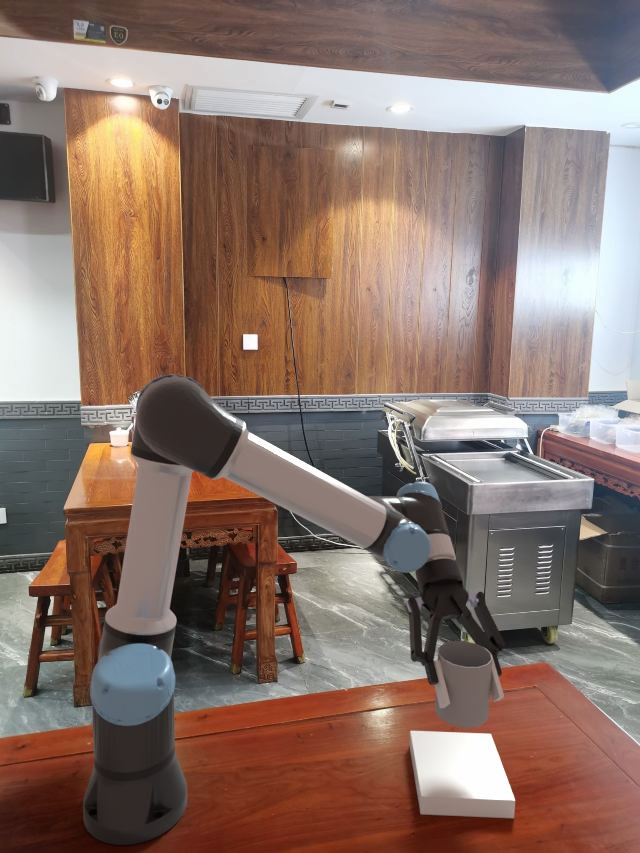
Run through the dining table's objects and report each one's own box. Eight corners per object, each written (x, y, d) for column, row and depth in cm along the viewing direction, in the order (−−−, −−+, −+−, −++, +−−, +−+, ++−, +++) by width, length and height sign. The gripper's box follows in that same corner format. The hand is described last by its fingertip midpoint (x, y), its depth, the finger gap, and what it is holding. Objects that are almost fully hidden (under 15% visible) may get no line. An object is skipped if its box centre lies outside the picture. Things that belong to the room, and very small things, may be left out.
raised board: (420, 814, 98) (421, 796, 97) (409, 746, 113) (410, 730, 113) (513, 818, 97) (515, 800, 97) (489, 749, 113) (490, 733, 112)
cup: (424, 709, 104) (427, 651, 102) (455, 691, 109) (458, 635, 108) (467, 735, 98) (471, 673, 96) (498, 714, 103) (502, 655, 102)
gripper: (483, 570, 118) (523, 701, 105) (372, 578, 113) (400, 716, 100) (499, 552, 112) (544, 688, 99) (383, 560, 107) (415, 704, 94)
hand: (472, 702), depth 100 cm, fingers closed on cup, 8 cm apart
